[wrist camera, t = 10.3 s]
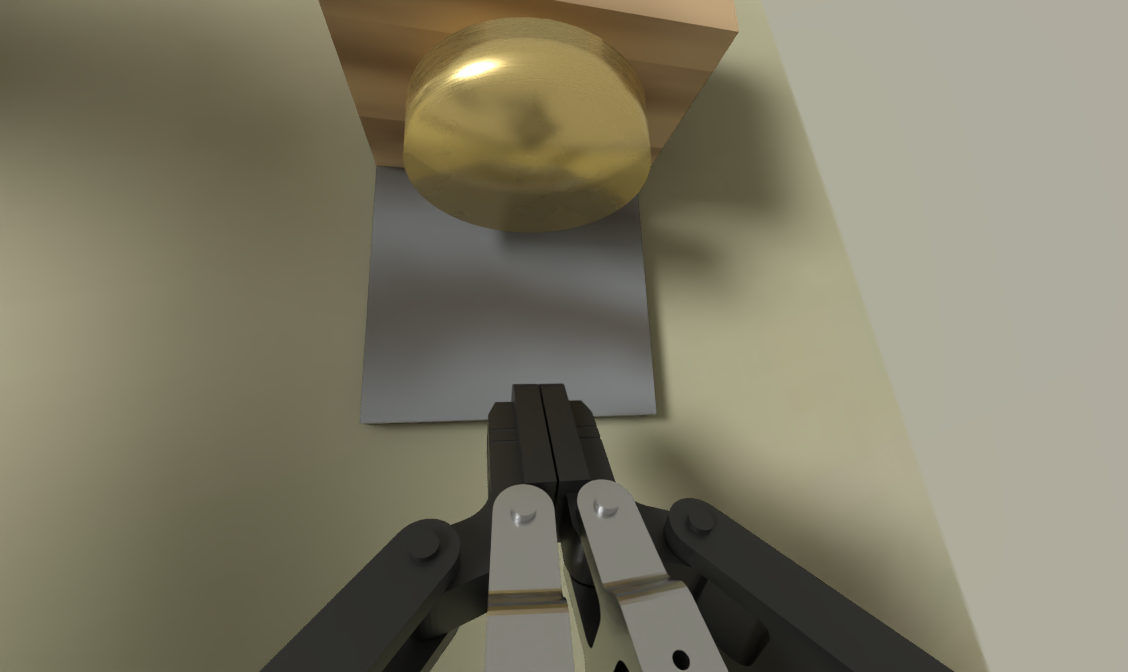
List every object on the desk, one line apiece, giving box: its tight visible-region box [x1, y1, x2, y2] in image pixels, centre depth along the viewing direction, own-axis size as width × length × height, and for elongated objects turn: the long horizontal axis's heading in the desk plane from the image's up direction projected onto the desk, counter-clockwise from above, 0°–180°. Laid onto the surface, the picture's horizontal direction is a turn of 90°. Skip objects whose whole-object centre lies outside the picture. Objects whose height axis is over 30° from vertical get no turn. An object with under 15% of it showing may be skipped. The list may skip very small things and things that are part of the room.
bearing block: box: [319, 0, 739, 424], centre depth 16 cm, size 21×12×10 cm, turn 2°
